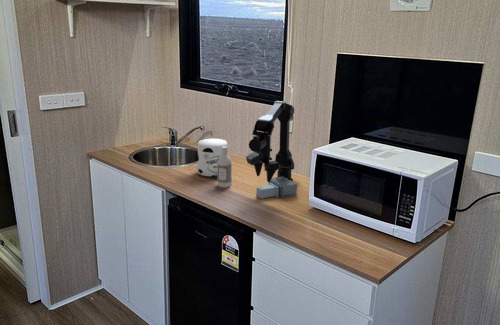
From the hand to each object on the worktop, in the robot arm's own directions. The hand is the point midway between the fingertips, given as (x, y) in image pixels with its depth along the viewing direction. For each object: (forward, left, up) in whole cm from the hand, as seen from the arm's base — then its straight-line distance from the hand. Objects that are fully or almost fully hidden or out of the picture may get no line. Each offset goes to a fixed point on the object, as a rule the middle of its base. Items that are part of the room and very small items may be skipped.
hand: (263, 179), depth 202 cm
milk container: (+7, -40, -9) cm, 42 cm away
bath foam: (+9, -22, -9) cm, 25 cm away
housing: (-11, 0, -9) cm, 14 cm away
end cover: (-6, 0, -9) cm, 10 cm away
